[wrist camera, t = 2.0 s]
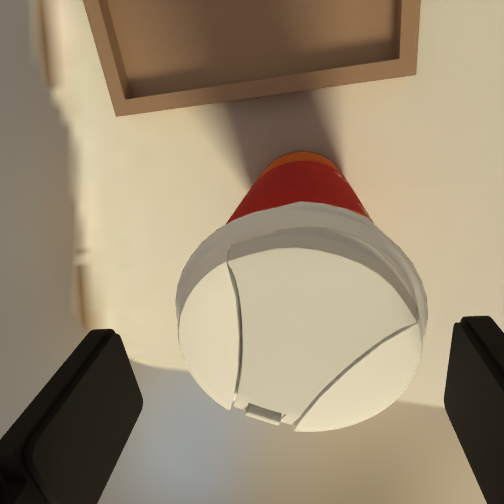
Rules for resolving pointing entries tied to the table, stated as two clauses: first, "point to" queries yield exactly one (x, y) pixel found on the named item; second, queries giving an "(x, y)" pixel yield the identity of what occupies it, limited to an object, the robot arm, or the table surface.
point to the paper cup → (301, 304)
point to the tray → (246, 47)
